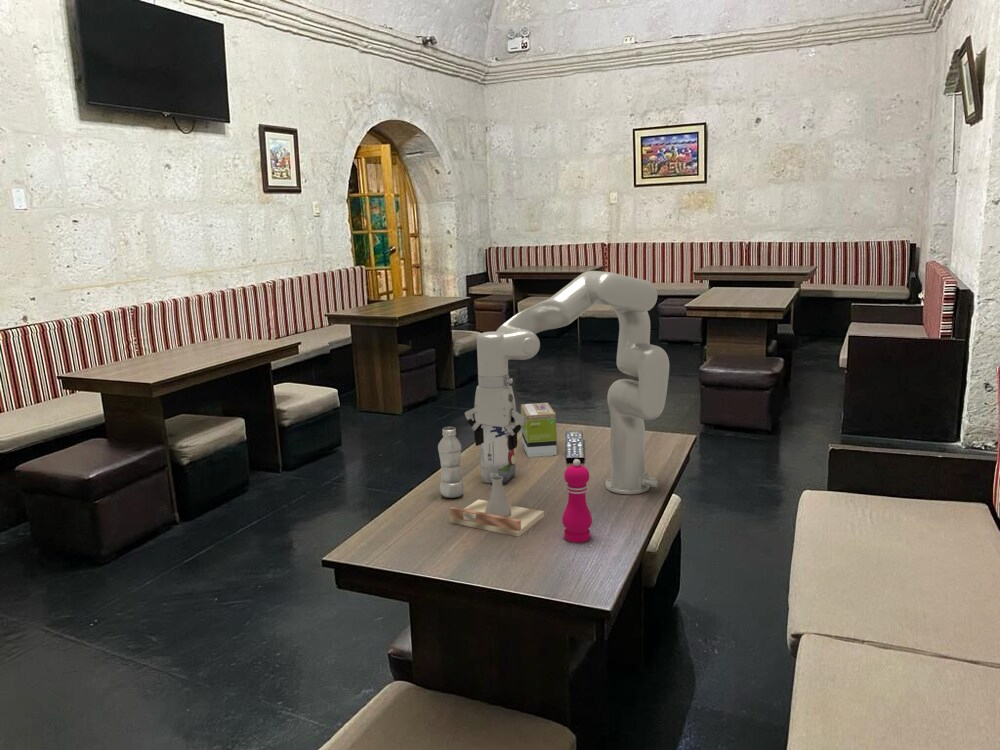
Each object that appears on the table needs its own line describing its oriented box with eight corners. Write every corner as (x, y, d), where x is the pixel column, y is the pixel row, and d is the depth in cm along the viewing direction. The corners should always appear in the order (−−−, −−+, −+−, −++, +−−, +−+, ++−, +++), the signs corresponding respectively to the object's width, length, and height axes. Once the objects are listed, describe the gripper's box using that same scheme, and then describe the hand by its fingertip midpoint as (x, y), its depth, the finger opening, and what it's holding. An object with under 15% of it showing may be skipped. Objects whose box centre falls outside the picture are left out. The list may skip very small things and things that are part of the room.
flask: (506, 520, 191) (505, 483, 188) (480, 518, 193) (478, 481, 191) (515, 510, 197) (514, 474, 195) (489, 507, 200) (488, 472, 197)
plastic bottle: (460, 501, 209) (458, 432, 205) (437, 500, 210) (434, 431, 206) (466, 492, 215) (463, 425, 211) (443, 491, 216) (440, 425, 212)
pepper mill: (572, 546, 178) (572, 466, 174) (556, 535, 185) (555, 457, 181) (597, 539, 182) (597, 460, 178) (581, 529, 188) (580, 452, 184)
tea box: (521, 444, 260) (520, 403, 257) (549, 443, 261) (549, 401, 258) (527, 458, 245) (526, 414, 242) (557, 456, 246) (557, 412, 243)
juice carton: (478, 483, 222) (475, 395, 217) (491, 472, 232) (489, 387, 226) (506, 486, 219) (503, 397, 213) (518, 475, 229) (516, 389, 223)
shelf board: (543, 516, 196) (543, 502, 195) (518, 537, 184) (517, 522, 183) (478, 504, 206) (478, 490, 205) (450, 523, 194) (449, 508, 193)
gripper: (531, 380, 187) (532, 446, 190) (471, 375, 195) (474, 438, 199) (516, 387, 180) (518, 455, 184) (456, 381, 189) (459, 446, 192)
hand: (495, 446), depth 191 cm, fingers open, 9 cm apart
